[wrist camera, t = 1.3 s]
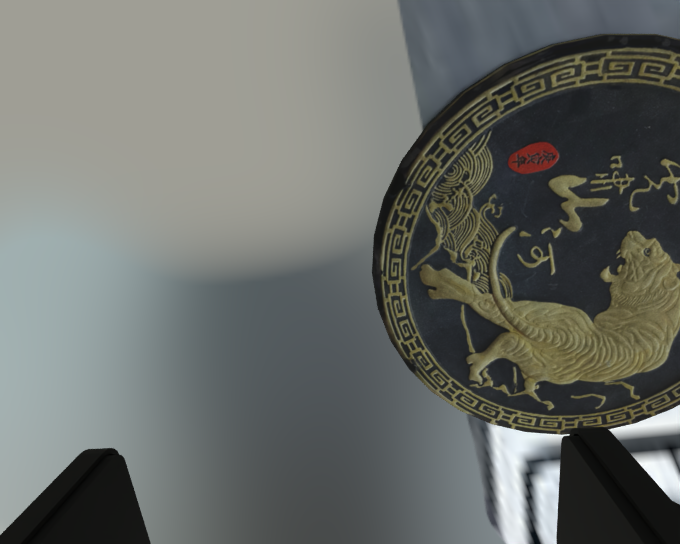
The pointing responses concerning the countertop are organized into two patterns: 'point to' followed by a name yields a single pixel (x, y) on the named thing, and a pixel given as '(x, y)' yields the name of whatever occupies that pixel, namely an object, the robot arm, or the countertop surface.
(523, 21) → the countertop surface
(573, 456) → the robot arm
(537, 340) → the decorative plate
